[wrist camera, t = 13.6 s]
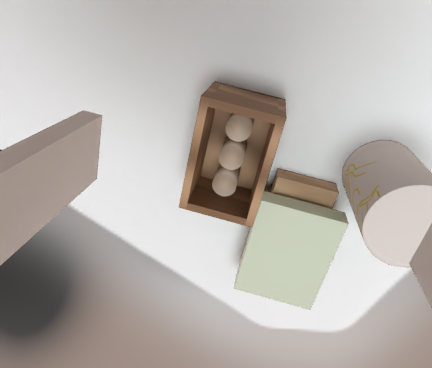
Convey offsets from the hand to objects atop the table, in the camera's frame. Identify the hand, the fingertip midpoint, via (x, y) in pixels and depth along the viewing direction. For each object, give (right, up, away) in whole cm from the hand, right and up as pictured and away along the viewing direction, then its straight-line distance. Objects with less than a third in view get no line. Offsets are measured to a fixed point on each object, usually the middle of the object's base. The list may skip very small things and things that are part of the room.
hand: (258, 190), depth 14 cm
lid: (+7, -7, +31) cm, 32 cm away
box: (+1, +5, +29) cm, 30 cm away
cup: (+17, +1, +29) cm, 33 cm away
